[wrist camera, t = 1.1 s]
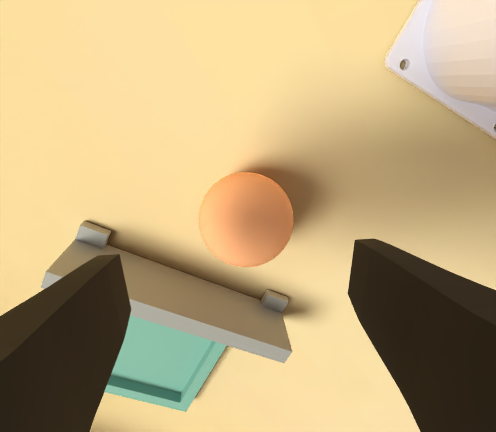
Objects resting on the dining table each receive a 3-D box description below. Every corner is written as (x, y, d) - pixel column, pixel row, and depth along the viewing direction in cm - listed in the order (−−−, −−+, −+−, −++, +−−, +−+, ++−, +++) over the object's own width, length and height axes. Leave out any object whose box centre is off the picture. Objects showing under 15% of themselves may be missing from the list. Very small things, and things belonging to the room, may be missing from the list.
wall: (286, 296, 22) (300, 339, 18) (266, 327, 23) (276, 374, 19) (84, 220, 18) (51, 255, 15) (70, 260, 19) (36, 302, 16)
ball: (298, 184, 19) (324, 217, 14) (259, 250, 20) (272, 299, 16) (222, 147, 17) (224, 170, 13) (187, 221, 19) (178, 265, 14)
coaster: (236, 317, 22) (237, 328, 21) (187, 398, 25) (185, 411, 24) (110, 274, 20) (105, 284, 19) (72, 369, 23) (65, 382, 22)
